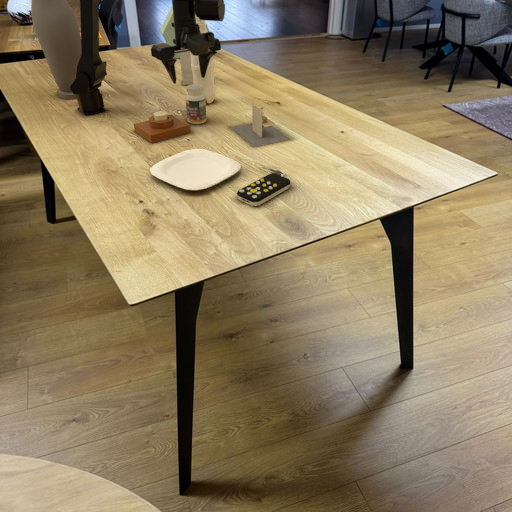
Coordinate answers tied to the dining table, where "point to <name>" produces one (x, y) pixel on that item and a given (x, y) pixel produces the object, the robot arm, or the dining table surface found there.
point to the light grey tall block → (186, 68)
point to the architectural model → (259, 130)
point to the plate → (195, 169)
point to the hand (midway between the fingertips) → (189, 80)
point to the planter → (170, 30)
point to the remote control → (263, 189)
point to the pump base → (161, 128)
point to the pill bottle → (195, 104)
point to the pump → (160, 116)
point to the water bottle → (208, 81)
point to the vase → (58, 41)
